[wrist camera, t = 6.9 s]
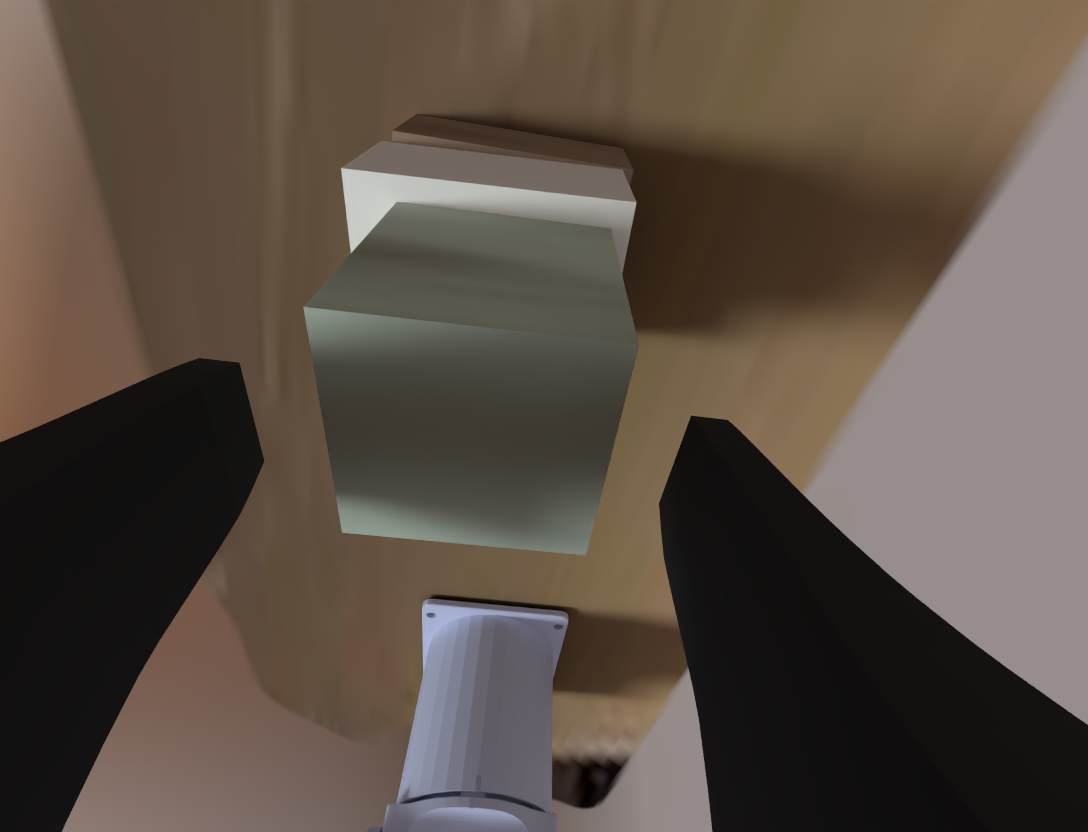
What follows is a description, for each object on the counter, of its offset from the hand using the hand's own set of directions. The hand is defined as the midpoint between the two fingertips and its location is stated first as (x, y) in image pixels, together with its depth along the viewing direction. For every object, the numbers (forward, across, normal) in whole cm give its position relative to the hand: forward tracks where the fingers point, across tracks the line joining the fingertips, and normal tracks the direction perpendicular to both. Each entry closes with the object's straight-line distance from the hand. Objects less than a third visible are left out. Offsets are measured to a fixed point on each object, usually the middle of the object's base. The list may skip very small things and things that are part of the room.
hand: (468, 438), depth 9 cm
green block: (+5, 0, 0) cm, 5 cm away
